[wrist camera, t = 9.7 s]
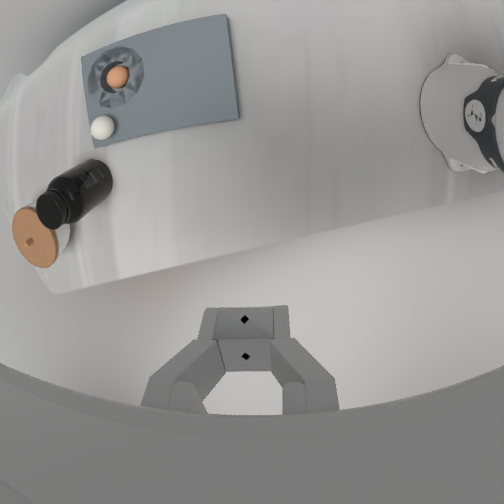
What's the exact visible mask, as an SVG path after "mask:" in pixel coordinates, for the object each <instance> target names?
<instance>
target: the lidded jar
mask: <svg viewBox="0 0 504 504" xmlns="http://www.w3.org/2000/svg"><path fill="white" fill-rule="evenodd" d="M36 203H37V201H35V202H33V203H31V204H29V205H27V206H25V207H23V208H21V209H20V210H18V211H17V212H16V214H15V215H14V218H13V222H12V231H13V236H14V240H15V243H16V245H17V247H18V249H19V250H20V252H21V253H22V255H23V256H24V257H25V258H26V259H27V260H28V261H29V262H30V263H31V264H33V265H34V266H37V267H40V268H48V267H50V266H51V265H52V264H53V263H54V262H55V261H56V259H57V258H58V257H59V256H60V255H61V253H62V252H63V250H64V249H65V247H66V245H67V243H68V240H69V237H70V224H64V225H62V226H60V227H59V228H58V229H56V230H52V229H51V230H50V229H48V228H47V227H45V226H44V225H43V224H42V223H41V222H40V220H39V218H38V216H37V213H36Z"/></svg>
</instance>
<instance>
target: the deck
mask: <svg viewBox="0 0 504 504" xmlns="http://www.w3.org/2000/svg"><path fill="white" fill-rule="evenodd" d="M81 62H82V73H83V82H84V91H85V98H86V105H87V111H88V118H89V123H90V129H91V124H92V122H93V121H94V120H95V119H96V118H97V117H99V116H108V117H110V118H111V119H112V120H113V122H114V131H113V133H112V134H111V136H110V137H108V138H107V139H104V140H98V139H96V138H94V137H93V136H92V139H93V144H94V149H95V148H98V147H102V146H105V145H109V144H112V143H116V142H119V141H123V140H127V139H131V138H135V137H139V136H143V135H147V134H152V133H156V132H161V131H166V130H171V129H176V128H181V127H187V126H193V125H199V124H205V123H212V122H219V121H227V120H235V119H239V118H240V114H239V105H238V96H237V88H236V80H235V71H234V63H233V54H232V46H231V38H230V29H229V21H228V17H227V15H226V14H220V15H214V16H208V17H203V18H198V19H193V20H188V21H184V22H180V23H175V24H171V25H168V26H164V27H160V28H157V29H153V30H150V31H147V32H144V33H141V34H138V35H135V36H132V37H129V38H126V39H123V40H121V41H118V42H115V43H113V44H110V45H108V46H106V47H103V48H101V49H98V50H96V51H94V52H92V53H89V54H87V55H85V56H83V57H81ZM123 62H124V63H125V64H126V65H127V66H128V67H129V74H130V77H129V79H128V82H127V85H126V86H125V87H124V88H123V89H122V90H121V91H119V92H114V91H113V89H112V88H111V87H110V86H109V84H108V83H107V75H108V73H109V71H110V70H111V69H112V68H114V67H116V66H117V65H118V64H121V63H123Z"/></svg>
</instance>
